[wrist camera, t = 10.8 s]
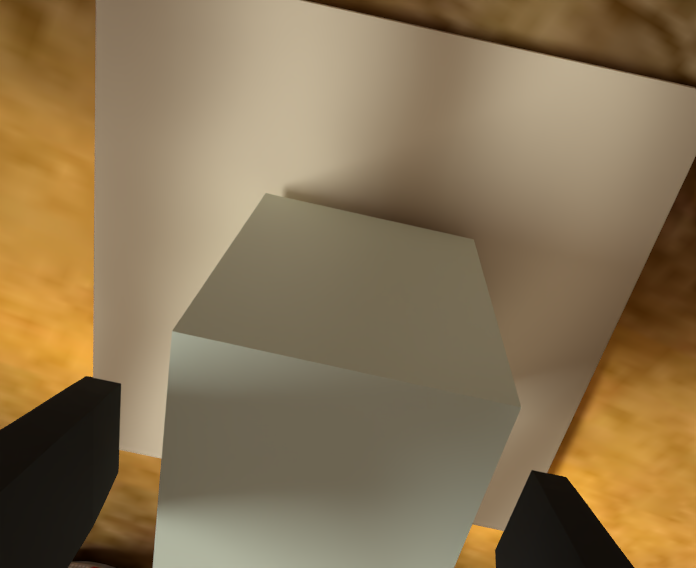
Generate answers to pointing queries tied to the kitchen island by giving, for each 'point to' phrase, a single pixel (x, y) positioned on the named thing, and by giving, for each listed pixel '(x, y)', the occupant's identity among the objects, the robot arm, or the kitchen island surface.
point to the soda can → (88, 565)
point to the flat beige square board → (375, 181)
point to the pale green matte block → (332, 398)
